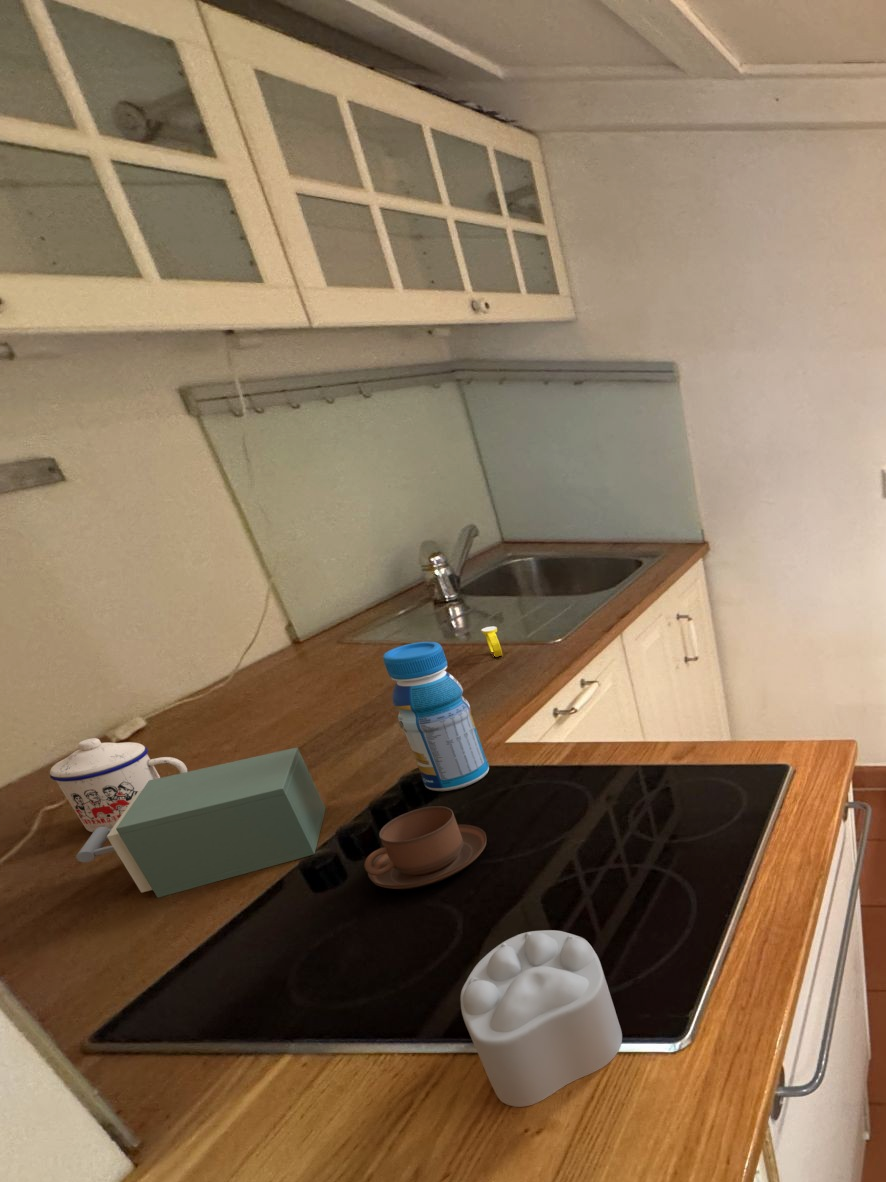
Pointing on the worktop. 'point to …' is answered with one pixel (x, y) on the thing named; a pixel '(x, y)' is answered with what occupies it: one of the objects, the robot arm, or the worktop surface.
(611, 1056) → the lumpy-topped squat cylinder
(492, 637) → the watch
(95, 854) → the drawer
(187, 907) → the worktop surface
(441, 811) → the cup and saucer
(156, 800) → the cabinet
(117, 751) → the teacup with lid
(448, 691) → the beverage bottle
